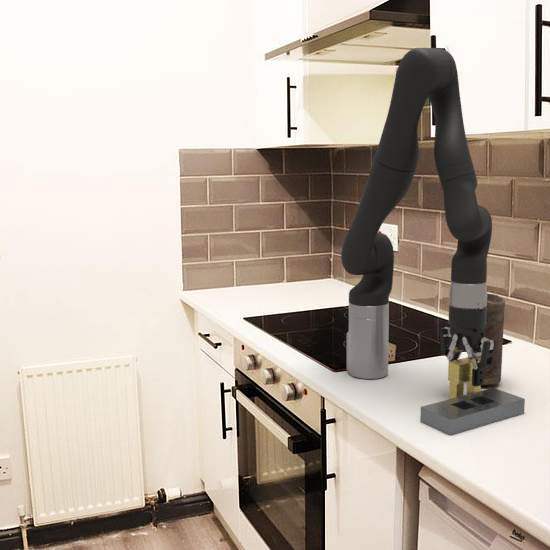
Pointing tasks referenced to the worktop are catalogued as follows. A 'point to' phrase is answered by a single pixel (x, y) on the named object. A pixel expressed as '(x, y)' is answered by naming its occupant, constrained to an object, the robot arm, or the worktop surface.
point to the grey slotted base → (472, 410)
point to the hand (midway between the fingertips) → (465, 381)
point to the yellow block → (461, 377)
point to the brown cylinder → (494, 337)
